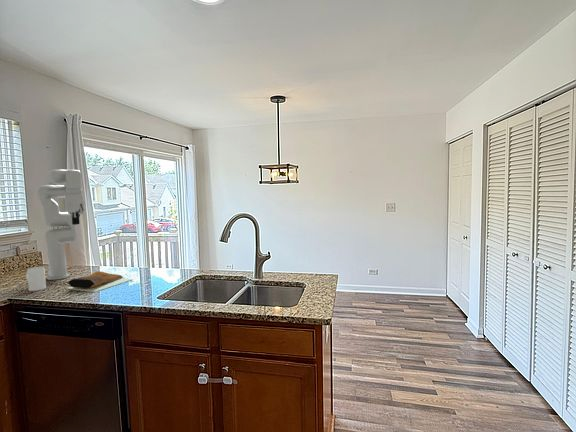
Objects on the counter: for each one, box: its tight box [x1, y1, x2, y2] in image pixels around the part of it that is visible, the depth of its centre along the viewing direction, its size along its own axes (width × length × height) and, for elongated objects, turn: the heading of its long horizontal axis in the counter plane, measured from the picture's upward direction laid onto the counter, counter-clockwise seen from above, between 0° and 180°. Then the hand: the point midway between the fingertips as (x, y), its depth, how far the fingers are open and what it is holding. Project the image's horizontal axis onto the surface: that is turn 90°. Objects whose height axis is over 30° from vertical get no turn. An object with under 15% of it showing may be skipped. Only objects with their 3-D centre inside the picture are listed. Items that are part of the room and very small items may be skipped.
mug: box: [25, 266, 47, 292], centre depth 199 cm, size 12×8×12 cm
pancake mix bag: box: [67, 270, 124, 288], centre depth 208 cm, size 7×19×28 cm
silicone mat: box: [66, 277, 134, 293], centre depth 206 cm, size 22×27×1 cm
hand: (75, 224), depth 196 cm, fingers closed
